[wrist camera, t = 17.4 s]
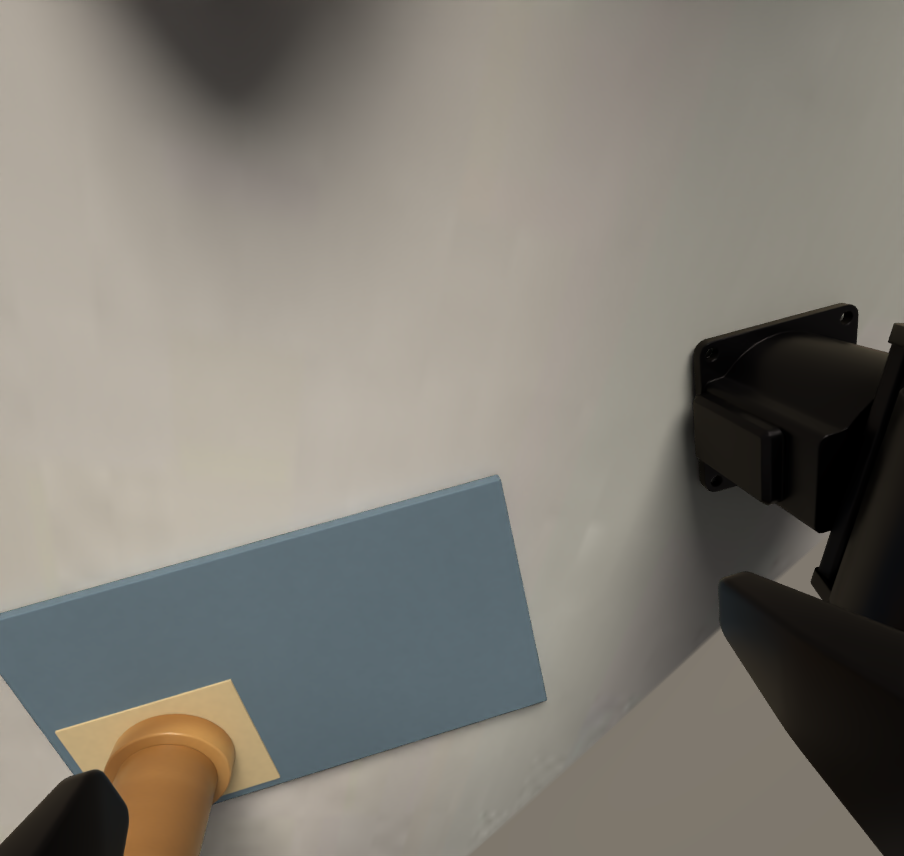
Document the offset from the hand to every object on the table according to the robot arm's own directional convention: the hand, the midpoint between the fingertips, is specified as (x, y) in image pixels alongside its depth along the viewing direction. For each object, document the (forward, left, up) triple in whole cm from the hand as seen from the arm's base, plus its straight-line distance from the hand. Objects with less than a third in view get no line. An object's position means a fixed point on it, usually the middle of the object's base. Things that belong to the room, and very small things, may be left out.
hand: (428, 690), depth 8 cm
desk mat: (+6, +10, -13) cm, 18 cm away
